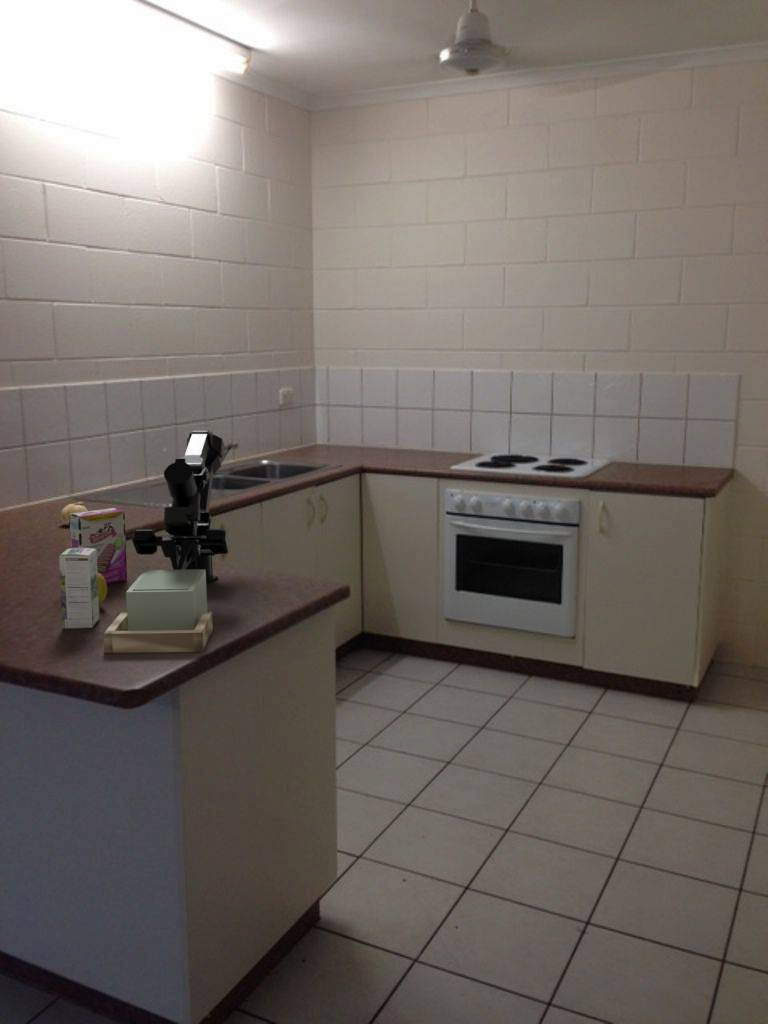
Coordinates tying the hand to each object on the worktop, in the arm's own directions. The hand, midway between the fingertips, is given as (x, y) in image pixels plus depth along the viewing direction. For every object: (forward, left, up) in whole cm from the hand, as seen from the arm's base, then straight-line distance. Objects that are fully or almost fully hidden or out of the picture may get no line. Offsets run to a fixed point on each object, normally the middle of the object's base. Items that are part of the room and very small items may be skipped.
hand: (177, 577), depth 183 cm
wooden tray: (+15, +9, -7) cm, 19 cm away
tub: (+7, +4, -7) cm, 11 cm away
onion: (-54, -85, -8) cm, 102 cm away
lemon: (+6, -17, -7) cm, 20 cm away
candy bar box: (-9, -30, -7) cm, 33 cm away
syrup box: (+15, -11, -7) cm, 20 cm away
